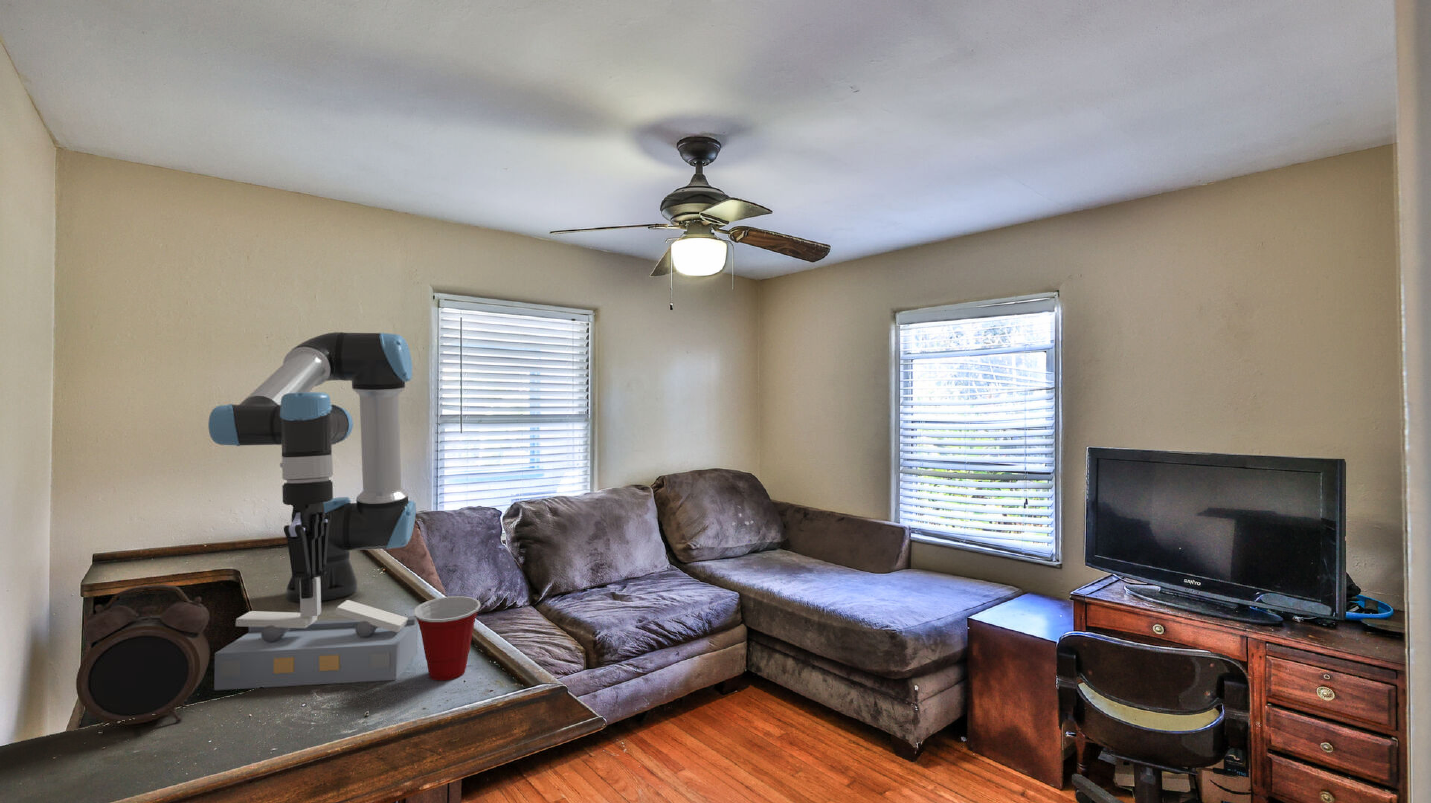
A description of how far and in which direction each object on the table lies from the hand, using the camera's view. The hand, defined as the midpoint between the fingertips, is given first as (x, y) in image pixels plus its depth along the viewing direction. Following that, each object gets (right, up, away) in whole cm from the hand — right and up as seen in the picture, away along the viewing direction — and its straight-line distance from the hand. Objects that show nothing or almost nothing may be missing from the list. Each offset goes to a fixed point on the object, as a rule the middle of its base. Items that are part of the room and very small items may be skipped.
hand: (310, 614), depth 115 cm
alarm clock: (-12, -10, -19) cm, 25 cm away
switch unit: (+2, -10, 0) cm, 10 cm away
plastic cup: (+24, -10, -1) cm, 26 cm away
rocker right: (+9, -4, +1) cm, 10 cm away
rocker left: (-6, -4, -1) cm, 7 cm away
